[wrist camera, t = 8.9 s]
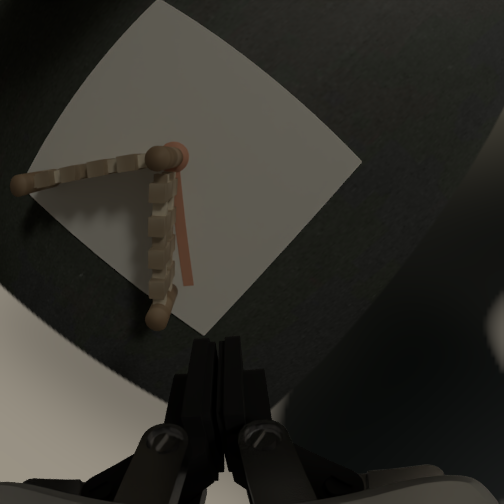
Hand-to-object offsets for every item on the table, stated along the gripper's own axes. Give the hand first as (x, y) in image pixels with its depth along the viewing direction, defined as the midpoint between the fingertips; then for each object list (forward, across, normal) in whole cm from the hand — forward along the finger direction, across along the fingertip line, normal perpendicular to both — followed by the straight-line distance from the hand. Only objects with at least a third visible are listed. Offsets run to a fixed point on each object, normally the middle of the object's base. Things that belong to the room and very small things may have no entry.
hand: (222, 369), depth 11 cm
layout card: (+19, +4, -7) cm, 21 cm away
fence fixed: (+19, +10, -8) cm, 23 cm away
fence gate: (+18, +5, -1) cm, 19 cm away
